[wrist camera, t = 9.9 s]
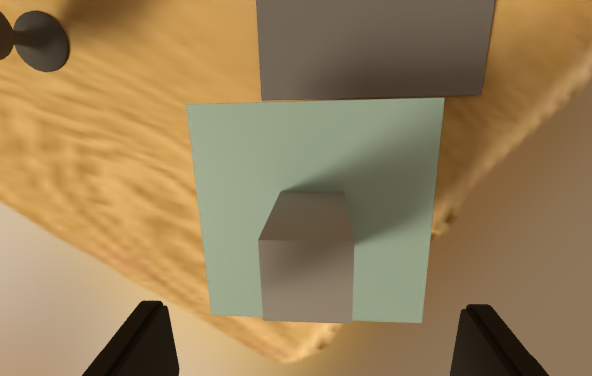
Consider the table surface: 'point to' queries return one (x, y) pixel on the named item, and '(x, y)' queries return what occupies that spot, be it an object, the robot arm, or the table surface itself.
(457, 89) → the mat
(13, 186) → the table surface
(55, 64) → the sundae
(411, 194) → the lid
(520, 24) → the table surface
